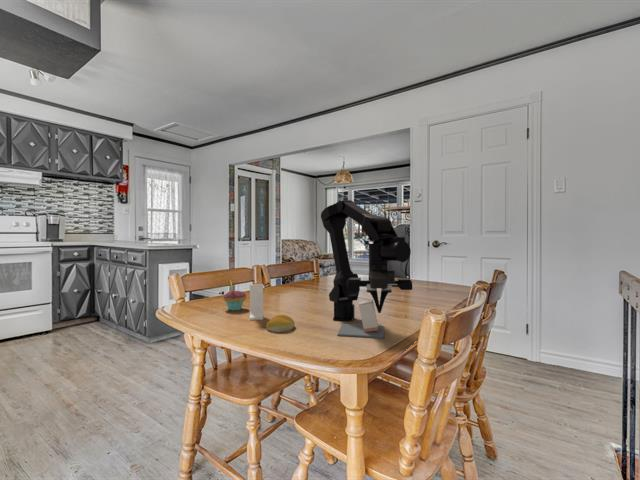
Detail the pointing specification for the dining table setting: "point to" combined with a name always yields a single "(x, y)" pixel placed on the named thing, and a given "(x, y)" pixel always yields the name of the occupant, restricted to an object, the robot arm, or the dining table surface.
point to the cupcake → (234, 299)
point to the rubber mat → (359, 331)
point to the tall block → (368, 316)
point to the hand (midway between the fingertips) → (379, 312)
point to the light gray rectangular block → (256, 302)
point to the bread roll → (280, 323)
